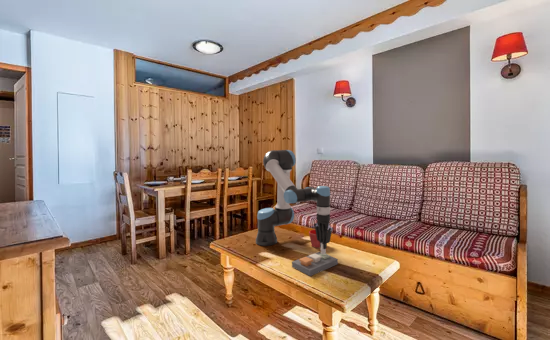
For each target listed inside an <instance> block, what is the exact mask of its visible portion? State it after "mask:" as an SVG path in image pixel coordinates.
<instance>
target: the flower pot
mask: <svg viewBox="0 0 550 340" xmlns="http://www.w3.org/2000/svg"><path fill="white" fill-rule="evenodd" d="M308 234H309V240H310V244H311V247H312V248H316V249H317V248H319V249H321V248H320V242H319V241H318V240H317V236H316V230H315V229H311V230H309V231H308Z"/></svg>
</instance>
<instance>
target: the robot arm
mask: <svg viewBox="0 0 550 340" xmlns="http://www.w3.org/2000/svg"><path fill="white" fill-rule="evenodd" d="M296 161H297V158H296V155H295V153H294V152H293V151H292V150H290V149H280V150H278V149H277V150H276V149H274V150H269V151H267V152H266V153H265V154H264V157H263V159H262V163H263V164H262V165H263V166H264V169H265V170H266V171H267V172H269V173H270V174H271V176H272V177H273V179H274V180H275V182H276V184H277V191H276V193H277V194H276V195H277V199H276V201H277V203H276V205H275V206H274V208H273V207H265V208H262V209H260V210H258V211H257V217H256V218H257V234H256V237H255V244H256V245H257V246H265V247H267V246H274V245H276V244H277V243H278V236H277V235H276V232H275V227H278V226H283V225H290V224H291V223H292V222H293V221H294V220H295V219H294V218H295V212H294V209H293V208H292V206H291V205H290V204H296V203H297V204H298V203H302V202H310V201H312V202H316V222H315V223H313V226H314V230H316V236H317V240H318V241H319V242H320V248H319V249H320V252H321V254H322V255H323V254H327V247H328V245H327V244H329V243H330V242H331V238H332V237H331V236H332V233H333V231H334V227H332V226H331V224H330V221H331V188H330V186H327V185H326V186H325V185H319V186H317V187H312V186H307V187H304V188H299V189H298V188H297V186H296V185H295V184H294V183H293V181H292V180H291V178H290V177H291V171H292V170H293V167H294V166H295V165H296Z"/></svg>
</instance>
